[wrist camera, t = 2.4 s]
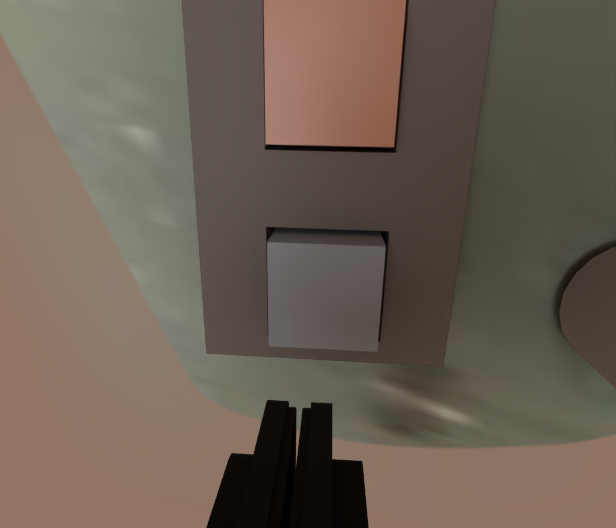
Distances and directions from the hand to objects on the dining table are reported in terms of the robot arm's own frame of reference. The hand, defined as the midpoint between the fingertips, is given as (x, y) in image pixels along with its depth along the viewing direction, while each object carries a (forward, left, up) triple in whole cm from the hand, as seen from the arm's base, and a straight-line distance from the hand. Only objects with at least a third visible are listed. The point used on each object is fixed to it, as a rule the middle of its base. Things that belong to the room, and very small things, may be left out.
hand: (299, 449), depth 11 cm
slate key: (-1, 0, -12) cm, 12 cm away
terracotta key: (-10, 0, -12) cm, 16 cm away
